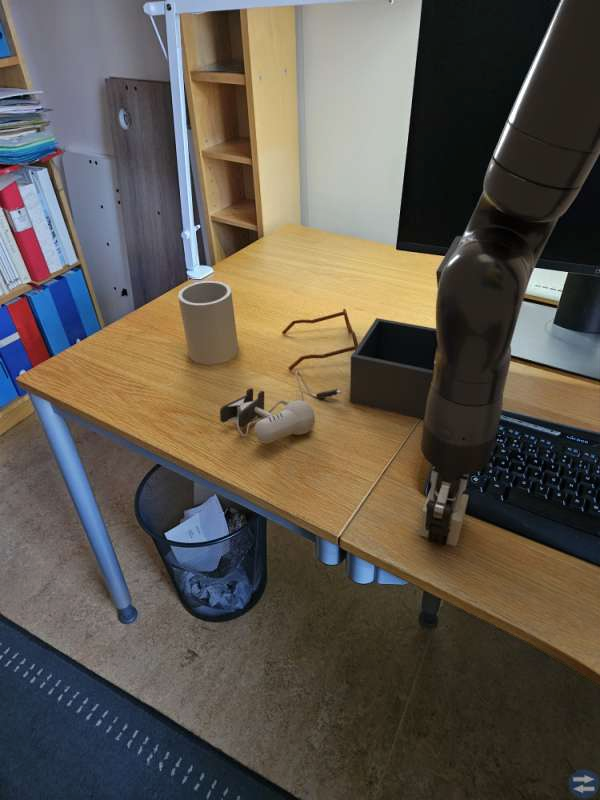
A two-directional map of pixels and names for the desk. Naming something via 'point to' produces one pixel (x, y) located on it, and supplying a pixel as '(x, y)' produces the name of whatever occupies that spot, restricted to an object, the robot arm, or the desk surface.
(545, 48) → the robot arm
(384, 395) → the box
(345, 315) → the glasses
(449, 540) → the block
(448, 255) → the box lid
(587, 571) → the desk surface
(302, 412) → the clip-on lamp
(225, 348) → the cup
